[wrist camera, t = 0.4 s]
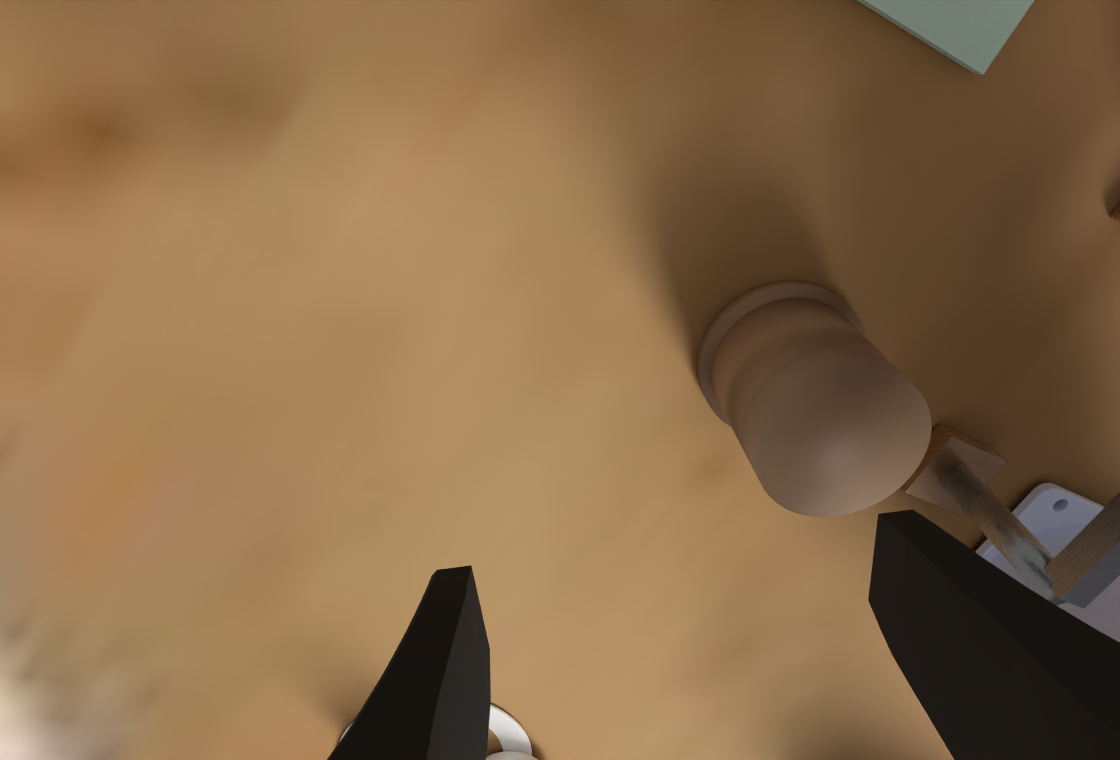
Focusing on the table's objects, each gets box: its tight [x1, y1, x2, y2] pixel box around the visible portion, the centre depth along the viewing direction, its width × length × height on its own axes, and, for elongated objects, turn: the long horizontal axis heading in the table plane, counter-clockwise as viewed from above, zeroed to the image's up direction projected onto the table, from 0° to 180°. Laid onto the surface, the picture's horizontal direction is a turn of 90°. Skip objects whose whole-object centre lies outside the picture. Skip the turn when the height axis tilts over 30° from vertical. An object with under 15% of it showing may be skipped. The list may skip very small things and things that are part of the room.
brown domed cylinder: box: [697, 280, 932, 517], centre depth 20 cm, size 5×5×5 cm
